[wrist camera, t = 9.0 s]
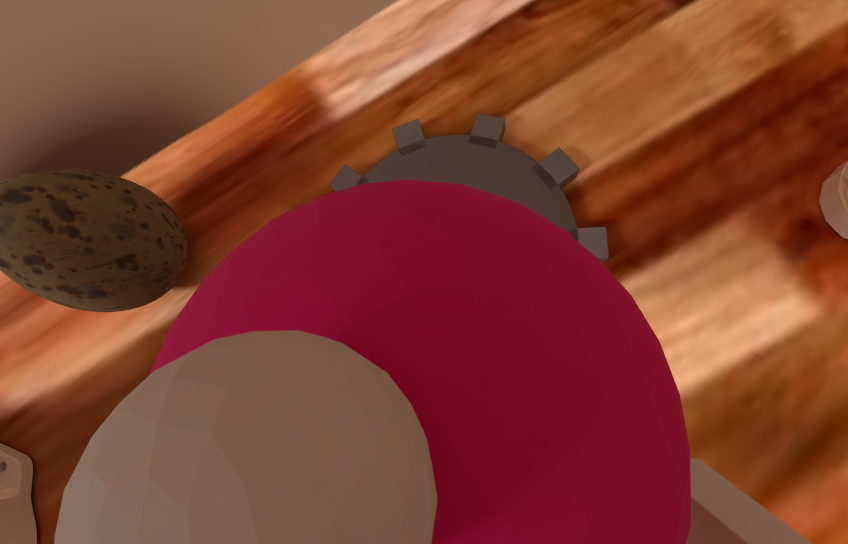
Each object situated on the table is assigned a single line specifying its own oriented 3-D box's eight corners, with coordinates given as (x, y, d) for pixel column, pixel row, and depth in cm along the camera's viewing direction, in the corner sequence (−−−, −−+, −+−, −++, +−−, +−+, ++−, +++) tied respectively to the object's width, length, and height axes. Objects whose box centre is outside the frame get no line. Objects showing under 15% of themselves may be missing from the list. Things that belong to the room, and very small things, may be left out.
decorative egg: (172, 342, 39) (-22, 326, 25) (95, 283, 42) (-118, 238, 28) (239, 241, 40) (91, 169, 26) (160, 190, 43) (-13, 100, 29)
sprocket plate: (265, 319, 38) (254, 317, 36) (392, 87, 41) (388, 76, 39) (523, 466, 32) (524, 471, 30) (654, 181, 35) (661, 171, 33)
